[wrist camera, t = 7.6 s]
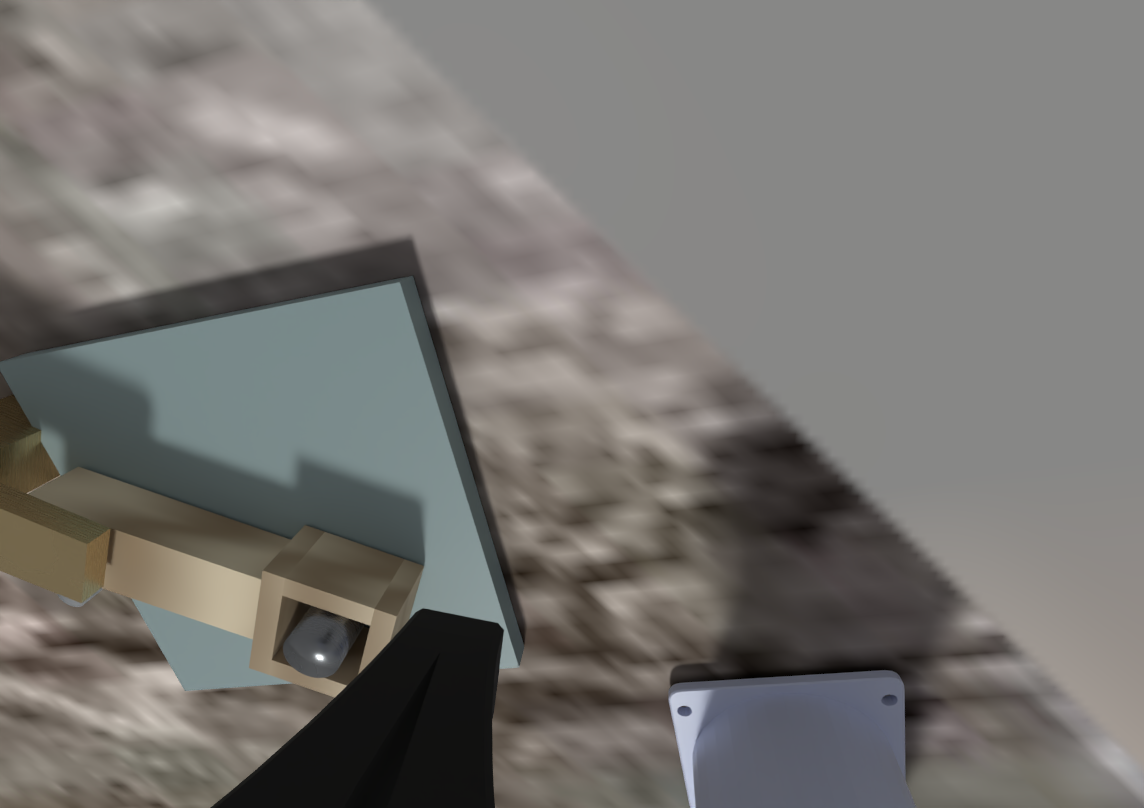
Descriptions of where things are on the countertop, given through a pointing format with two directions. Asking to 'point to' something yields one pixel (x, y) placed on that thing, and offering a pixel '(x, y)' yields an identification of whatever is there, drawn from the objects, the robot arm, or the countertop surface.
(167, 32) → the countertop surface
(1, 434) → the keeper
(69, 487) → the link
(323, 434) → the base board
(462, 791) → the robot arm
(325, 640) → the cylinder
